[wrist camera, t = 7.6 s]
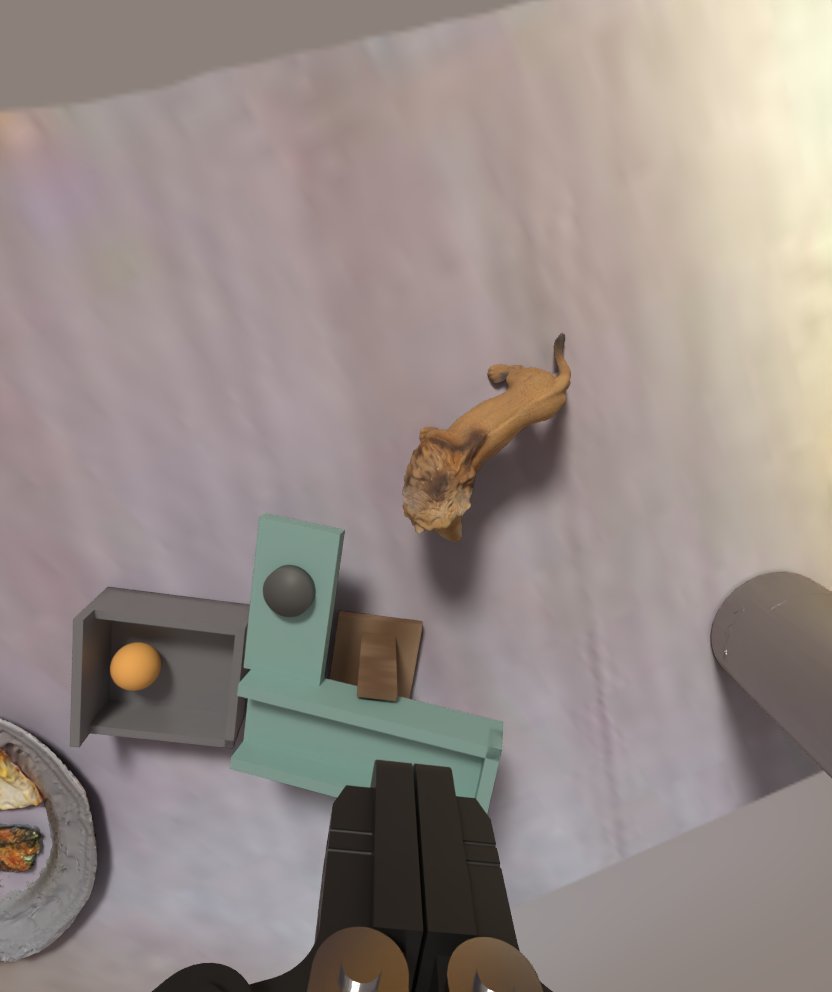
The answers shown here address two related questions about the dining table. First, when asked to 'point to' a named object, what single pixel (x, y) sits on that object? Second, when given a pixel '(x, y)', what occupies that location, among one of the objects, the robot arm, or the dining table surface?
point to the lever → (334, 685)
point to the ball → (135, 666)
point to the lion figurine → (477, 444)
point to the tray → (184, 668)
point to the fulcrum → (376, 654)
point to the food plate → (73, 859)
